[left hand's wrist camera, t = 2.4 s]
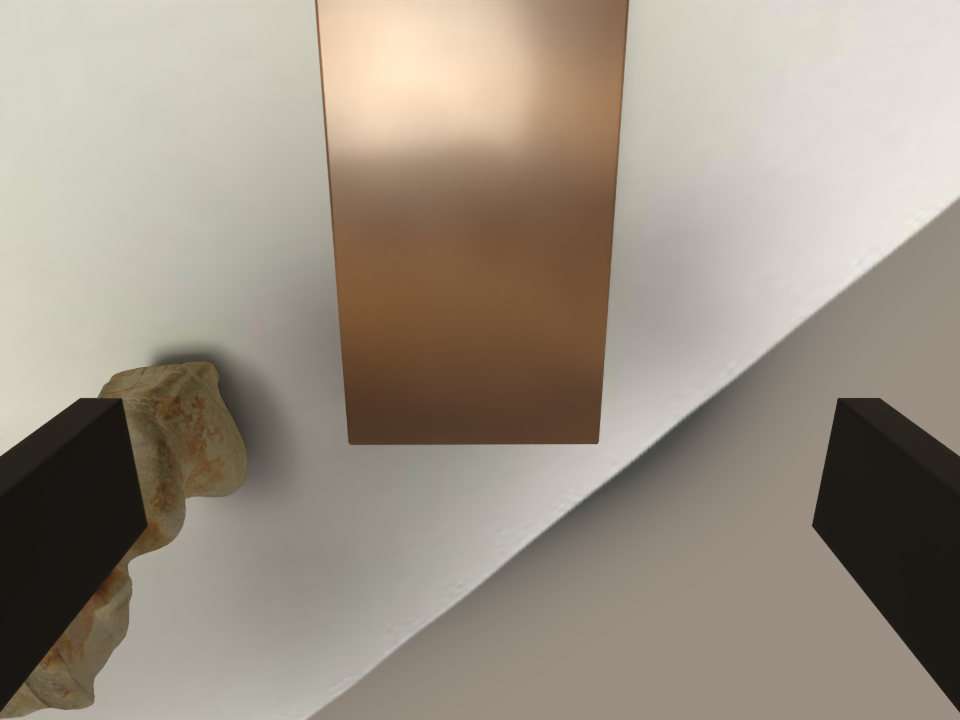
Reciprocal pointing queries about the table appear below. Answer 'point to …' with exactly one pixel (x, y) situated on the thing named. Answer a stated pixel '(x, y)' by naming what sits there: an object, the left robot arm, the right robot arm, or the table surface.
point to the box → (472, 213)
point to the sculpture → (164, 487)
